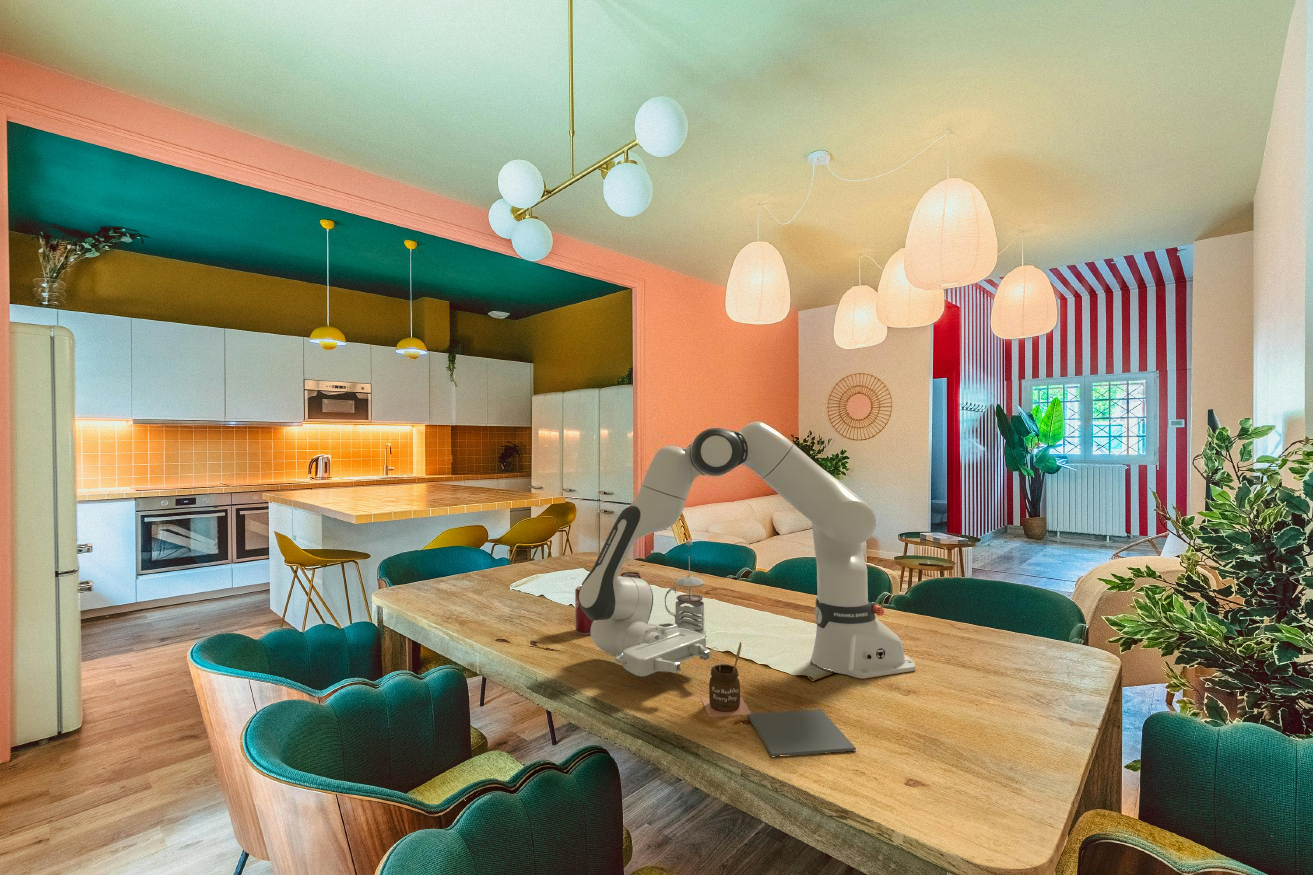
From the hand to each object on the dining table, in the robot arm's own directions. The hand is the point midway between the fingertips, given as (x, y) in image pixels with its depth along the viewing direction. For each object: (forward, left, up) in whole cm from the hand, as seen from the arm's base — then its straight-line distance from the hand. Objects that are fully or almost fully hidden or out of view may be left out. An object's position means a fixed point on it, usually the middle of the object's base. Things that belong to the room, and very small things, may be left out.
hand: (693, 661), depth 116 cm
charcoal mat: (-15, +19, -6) cm, 25 cm away
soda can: (+21, -44, -7) cm, 49 cm away
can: (+9, -50, -7) cm, 51 cm away
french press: (-5, -37, -7) cm, 38 cm away
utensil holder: (-5, +7, -7) cm, 10 cm away
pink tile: (-5, +6, -6) cm, 10 cm away
